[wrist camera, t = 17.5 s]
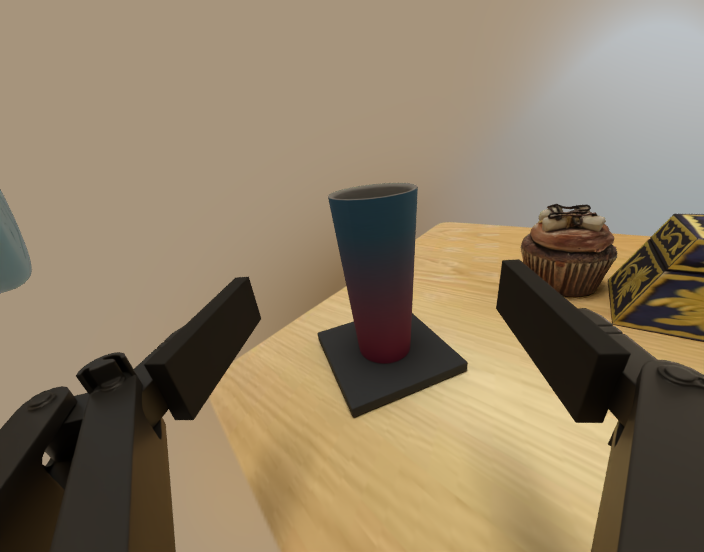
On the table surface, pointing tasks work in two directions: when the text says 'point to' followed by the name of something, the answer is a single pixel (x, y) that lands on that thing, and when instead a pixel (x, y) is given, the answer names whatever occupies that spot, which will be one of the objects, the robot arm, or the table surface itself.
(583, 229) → the cupcake
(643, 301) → the decorative box
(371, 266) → the cup
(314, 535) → the table surface
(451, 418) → the table surface
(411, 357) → the mat
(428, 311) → the table surface
